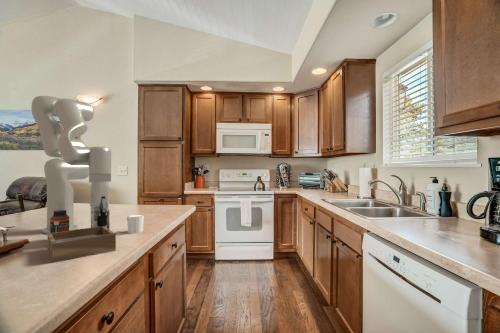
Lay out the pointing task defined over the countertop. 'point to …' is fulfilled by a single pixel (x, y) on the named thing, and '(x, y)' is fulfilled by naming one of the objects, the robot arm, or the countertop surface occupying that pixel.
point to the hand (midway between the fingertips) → (100, 224)
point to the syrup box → (94, 217)
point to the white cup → (135, 223)
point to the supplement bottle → (59, 221)
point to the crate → (80, 243)
